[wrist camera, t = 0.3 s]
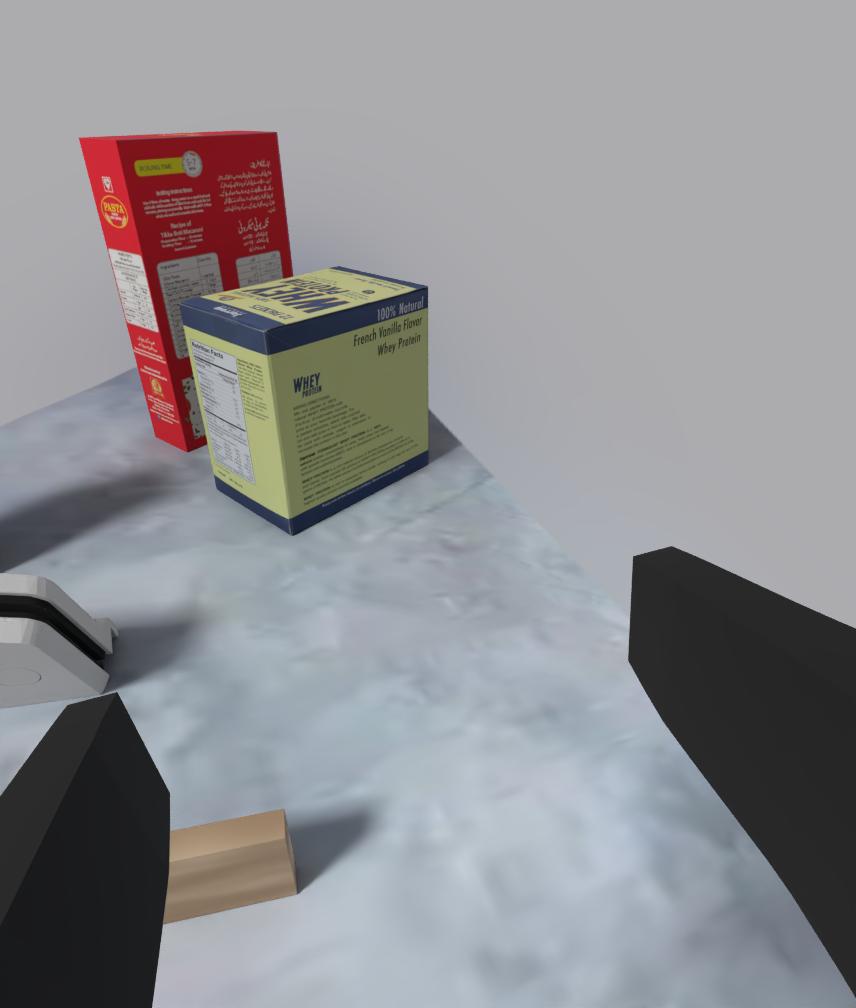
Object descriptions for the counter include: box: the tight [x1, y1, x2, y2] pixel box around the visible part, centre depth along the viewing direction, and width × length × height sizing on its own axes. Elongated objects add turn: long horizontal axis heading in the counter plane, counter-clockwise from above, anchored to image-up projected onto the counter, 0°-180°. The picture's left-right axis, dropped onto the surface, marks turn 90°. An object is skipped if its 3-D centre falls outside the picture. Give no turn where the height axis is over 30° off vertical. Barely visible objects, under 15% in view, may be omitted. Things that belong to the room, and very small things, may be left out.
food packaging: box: [79, 131, 293, 452], centre depth 59 cm, size 15×5×25 cm, turn 142°
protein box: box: [179, 266, 428, 535], centre depth 51 cm, size 10×16×16 cm
